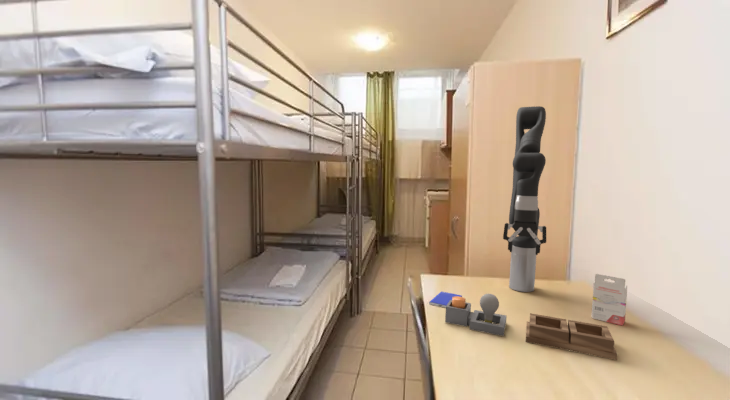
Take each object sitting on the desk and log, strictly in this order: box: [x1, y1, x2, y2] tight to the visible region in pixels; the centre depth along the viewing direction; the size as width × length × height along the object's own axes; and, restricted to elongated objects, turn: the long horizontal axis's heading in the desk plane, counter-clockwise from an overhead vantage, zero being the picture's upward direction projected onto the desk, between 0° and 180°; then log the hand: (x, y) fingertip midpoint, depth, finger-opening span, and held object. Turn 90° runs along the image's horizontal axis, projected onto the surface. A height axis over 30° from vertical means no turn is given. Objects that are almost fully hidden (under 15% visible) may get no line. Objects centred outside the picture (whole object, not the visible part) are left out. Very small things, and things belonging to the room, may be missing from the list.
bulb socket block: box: [444, 300, 507, 337], centre depth 111 cm, size 10×17×5 cm, turn 65°
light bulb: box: [479, 293, 500, 323], centre depth 109 cm, size 6×5×10 cm
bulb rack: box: [525, 313, 618, 361], centre depth 100 cm, size 11×21×4 cm, turn 65°
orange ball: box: [452, 296, 467, 309], centre depth 113 cm, size 4×4×4 cm
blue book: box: [428, 291, 463, 309], centre depth 130 cm, size 2×8×12 cm
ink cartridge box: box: [591, 273, 628, 327], centre depth 115 cm, size 9×5×15 cm, turn 47°
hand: (523, 253), depth 131 cm, fingers open, 8 cm apart
